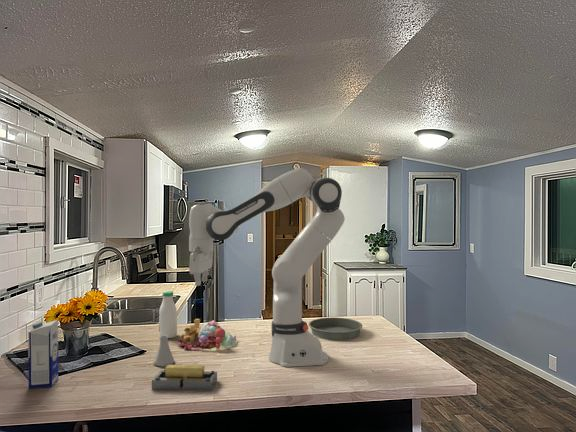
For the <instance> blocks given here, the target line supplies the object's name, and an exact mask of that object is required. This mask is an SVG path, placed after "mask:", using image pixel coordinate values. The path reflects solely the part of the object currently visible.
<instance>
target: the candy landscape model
mask: <svg viewBox="0 0 576 432" xmlns="http://www.w3.org/2000/svg"><path fill="white" fill-rule="evenodd" d="M200 323H201V318H195V319H194V320H193V324H191V325H189V326H186V327H185V328H184V329H183V331H184V332H185V333H183V334H182V335H181V336H180V338H179V340H178V342H177V345H178V348H182V347H183V350H188V351H190V350H191V351H199V352H204V353H219V352H220V351H221V352H224V351H228V350H230V349H231V348H234V347H235V346H237V345H238V340H237V335H236V334H235V335H234V336H233V335H232V334H231V333H230V332H229V331H225V329H224V328H222V327H221V326H220V325H219V323H218V321H215V320H213V319H212V320H211V321H206V322H205V323H204V324H203V326H200V325H201V324H200Z"/></svg>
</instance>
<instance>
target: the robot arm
mask: <svg viewBox="0 0 576 432" xmlns="http://www.w3.org/2000/svg"><path fill="white" fill-rule="evenodd" d="M342 192H343V191H342V186H341V185H340V183H339V182H338V181H337V180H335V179H334V178H331V177H319V178H313V176H312V174H311V173H310V172H309V171H308V170H307V169H305V168H303V167H298V168H295V169H292V170H289V171H287V172H285V173H283V174H281V175H279V176H277V177H275V178H274V179H272V180H271V181H270V182H268V183H266V184H265V186H263V187H262V188H261V189H260V190H259V191H258V192H257V193H256V194H255V195H254V196H252V197H251V198H249V199H247V200H246V201H244V202H241V203H240V204H238V205H237V206H235V207H233V208H231V209H229V210H222V209H220V208H218V207H216V206H214V205H213V204H212V203H210V202H202V203H197V204H194V205H192V206H191V208H190V211H189V216H188V217H189V220H188V228H189V239H188V249H189V250H188V252H191V253H190V255H189V269H188V270H189V274H190V275H193V278H194V284H195V285H194V286H196V287H200V286H201V285H202V282H203V283H204V282H207V281H208V274H209V269H212V267H213V260H214V250H215V247H216V246H215V243H214V240H215V241H224V240H227V239H229V238H230V237H231V236H233V235H234V234H235V233H237V231H238V229H239V226H241V225H242V224H244V223H246V222H248V221H249V220H251V219H253V218H254V217H257V216H258V215H260V214H263V213H267V212H272V211H273V212H274V211H277V210H279V209H282V208H285V207H287V206H289V205H291V204H293V203H294V202H296V201H298V200H300V199H301V198H308V199H309V200H310V201H311V202H312V203H313V204H315V205H316V207H317V210H316V213H315V214H314V215H313V217H312V218H311V219H310V221H309V222H307V223H306V225H305V226H304V227H303V228H302V229H301V231H300V232H299V233H298V234H297V236H296V237H295V239H294V240H293V241H292V242H291V243H290V244H289V245H288V246H287V248H286V249H285V251H284V252H283V253H282V254H281V256H279V257H278V258H277V259H276V261H275V262H274V264H273V266H272V269H271V276H272V279H273V289H272V292H273V293H272V294H273V295H272V321H271V327H270V328H271V331H270V332H271V337H272V339H271V347H270V352H269V355H268V360H269V361H270V362H272V363H275V364H278V365H279V366H282V367H285V368H289V367H291V368H293V367H307V366H325V365H326V364H328V363H329V355H328V353H327V352H326V351H324V350H323V346H322V343H321V341H320V339H318V337H316V336H314V335H313V334H312V332H310V331H308V330H309V324H308V323H307V321H305V320H303V293H302V292H303V286H302V285H303V277H304V276H305V275H306V274H307V272H308V271H309V270H310V269H311V267H312V265H313V264H314V263H315V262H316V260H317V259H318V257H319V256H320V255H321V254H322V253H323V252H324V251H325V249H326V248H327V247H328V246H329V244H330V243H331V242H332V241H333V239H334V238H335V237H336V235H337V234H338V232H339V231H340V230H341V228H342V226H344V225H343V224H344V223H345V215H344V212H343V211H342V210H341V209H340V205H341V200H342V197H343V195H342V194H343V193H342ZM201 275H202V276H201Z"/></svg>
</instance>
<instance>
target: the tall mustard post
mask: <svg viewBox="0 0 576 432" xmlns="http://www.w3.org/2000/svg"><path fill="white" fill-rule="evenodd" d="M164 370H165V378H182V384H183V380H184V379H185V378H199V379H204V372H205V365H202V364H200V365H199V364H198V365H197V364H196V365H195V364H172V365H167V366H165V367H164Z"/></svg>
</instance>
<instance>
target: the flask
mask: <svg viewBox="0 0 576 432" xmlns="http://www.w3.org/2000/svg"><path fill="white" fill-rule="evenodd" d="M158 338H159V347H158V350H157V353H156V355H155V358H154V361H153V365H154V366H155V367H163V368H165V367H166V366H167V365H174V363H175V362H176V361H175V359H174V356H173V353H172V352H171V349H170V344H169V339H170V338H169V336H161V337H159V336H158Z"/></svg>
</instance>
